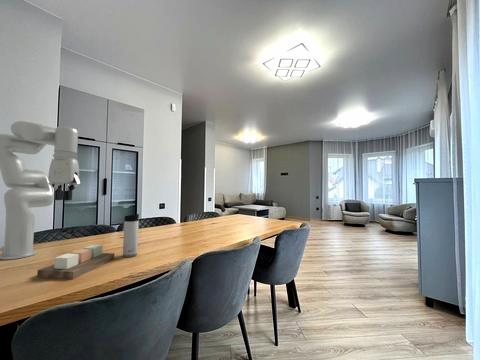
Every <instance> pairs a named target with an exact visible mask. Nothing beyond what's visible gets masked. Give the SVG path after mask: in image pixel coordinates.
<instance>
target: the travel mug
mask: <svg viewBox="0 0 480 360" xmlns="http://www.w3.org/2000/svg"><path fill="white" fill-rule="evenodd" d="M139 216H140V214H139V213H136V214H127V215H124V223H123V240H122V241H123V243H122V244H123V245H122V249H123V250H122V257H125V258H132V257H136V256H137V255H138V249H139V248H138V246H139V245H138V243H139V223H140V222H139Z"/></svg>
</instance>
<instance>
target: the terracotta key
mask: <svg viewBox="0 0 480 360" xmlns="http://www.w3.org/2000/svg"><path fill="white" fill-rule="evenodd" d="M69 254H79V257H78V263H83V262H85V261H87V260H90V259H91V249H83V248H79V249H76V250H73V251H70V252H69Z"/></svg>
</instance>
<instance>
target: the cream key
mask: <svg viewBox="0 0 480 360" xmlns="http://www.w3.org/2000/svg"><path fill="white" fill-rule="evenodd" d="M78 257H79V254H70V253H64V254H61V255H58V256H56V257H54V263H53V264H54V269H68V268H71V267H73V266H76V265H78Z"/></svg>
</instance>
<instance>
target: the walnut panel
mask: <svg viewBox="0 0 480 360" xmlns="http://www.w3.org/2000/svg"><path fill="white" fill-rule="evenodd" d="M113 260H115V252H114V253H113V252H110V253H109V252H102V255H99V256H97V257H95V258H91V259H90V260H87V261H85V262H83V263H78V265H76V266H73V267H71V268H68V269H54V264H55V263H52V264H49V265H47V266H45V267H41V268H39V269H37V273H36V277H37V278H50V279H65V280H66V279H67V280H74V279H77V278H78V277H80V276H83V275H84V274H86V273H88V272H91V271H93V270H95V269H96V268H99V267H100V266H103V265H105V264H107V263H109V262H111V261H113Z"/></svg>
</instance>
